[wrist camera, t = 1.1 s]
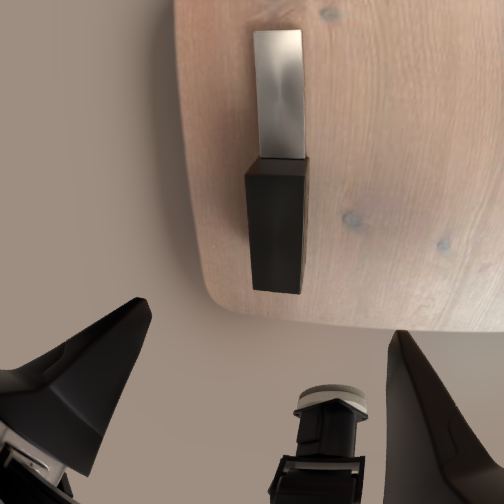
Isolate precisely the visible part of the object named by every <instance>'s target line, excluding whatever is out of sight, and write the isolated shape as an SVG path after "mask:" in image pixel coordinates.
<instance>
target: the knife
mask: <svg viewBox="0 0 504 504" xmlns="http://www.w3.org/2000/svg"><path fill="white" fill-rule="evenodd" d="M253 43H254V59H255V75H256V92H257V109H258V127H259V146H260V156H258V158H257V159H256V160H255V161H254V163H253V164H252V165H251V167H250V168H249V169H248V171H247V172H246V173H245V188H246V202H247V216H248V229H249V243H250V257H251V270H252V284H253V290H260V291H269V292H279V293H289V294H299V295H300V294H301V289H302V283H303V276H304V269H305V262H306V244H307V223H308V196H309V158H308V157H306V116H305V74H304V50H303V32H302V30H301V29H287V30H263V31H253Z"/></svg>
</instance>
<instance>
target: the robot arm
mask: <svg viewBox="0 0 504 504" xmlns="http://www.w3.org/2000/svg"><path fill="white" fill-rule="evenodd" d="M151 319H152V313H151V310H150V308H149V305H148V303H147V300H146V299H144V298H139V297H136V298H134V299H132V300H130V301H129V302H127V303H126V304H124V305H122V306H121V307H119V308H117V309H116V310H114V311H113V312H111V313H109V314H108V315H106V316H105V317H103V318H101V319H100V320H98V321H97V322H95V323H94V324H92V325H90V326H89V327H87V328H85V329H84V330H82V331H81V332H79V333H78V334H76V335H74V336H73V337H71V338H70V339H68V340H67V341H66V342H63V343H62V344H60V345H59V346H57V347H55V348H54V349H52V350H51V351H49V352H47V353H46V354H44V355H42V356H40V357H38V358H36V359H34V360H33V361H31V362H29V363H27V364H25V365H23V366H21V367H19V368H17V369H13V370H0V504H79V503H78V502H76V501H75V500H73V499H72V498H73V494H72V491H71V487H70V484H69V481H68V478H67V474H66V473H65V470H66V468H67V467H69V468H71V469H73V470H75V471H77V472H78V473H80V474H82V475H84V476H86V477H88V476H89V474H90V472H91V469H92V466H93V464H94V461H95V458H96V455H97V453H98V450H99V448H100V445H101V443H102V440H103V436H104V435H105V432H106V430H107V427H108V425H109V422H110V420H111V418H112V415H113V413H114V410H115V408H116V406H117V403H118V401H119V399H120V396H121V394H122V392H123V389H124V387H125V384H126V382H127V380H128V378H129V376H130V373H131V371H132V369H133V367H134V365H135V362H136V360H137V358H138V356H139V353H140V351H141V348H142V345H143V342H144V339H145V337H146V334H147V331H148V328H149V325H150V322H151ZM386 407H387V450H386V474H385V489H384V499H383V504H504V468H502V467H501V466H499V465H498V464H497V463H495V461H494V460H493V459H492V458H491V457H490V455H489V454H488V452H487V451H486V449H485V448H484V446H483V445H482V444H481V442H480V441H479V439H478V438H477V437H476V435H475V434H474V432H473V431H472V429H471V428H470V426H469V425H468V423H467V422H466V420H465V419H464V417H463V415H462V414H461V412H460V410H459V409H458V407H457V406H456V404H455V402H454V400H453V399H452V397H451V396H450V394H449V392H448V391H447V389H446V388H445V386H444V384H443V383H442V381H441V380H440V378H439V376H438V375H437V373H436V372H435V371H434V369H433V367H432V366H431V364H430V363H429V361H428V360H427V358H426V357H425V355H424V354H423V352H422V351H421V349H420V348H419V346H418V345H417V343H416V342H415V341H414V339H413V338H412V336H411V335H410V333H409V332H408V331H407V330H396V331H395V333H394V335H393V337H392V340H391V342H390V344H389V348H388V364H387V382H386ZM293 415H294V416H296V417H298V418H300V424H299V429H298V435H297V441H296V442H297V443H298V445H297V451H296V456H289V455H283V458H281V459H280V463H279V466H278V469H277V471H276V474H275V477H274V479H273V481H272V483H271V485H270V487H269V489H268V494H269V495H270V504H360V503H361V496H362V488H363V479H364V467H365V456H360V457H354V454H355V453H354V452H355V442H356V429H357V423H358V422H361V421H365V420H367V419H368V415H367V414H365V413H364V412H362V411H360V410H358V409H357V408H355V407H353V406H352V405H350V404H348V403H347V402H345V401H343V400H342V399H340V398H334V399H331V400H328V401H325V402H322V403H318V404H315V405H312V406H308V407H305V408H301V409H298V410H295V411H294V413H293ZM352 471H358V473H357V474H356V473H355V474H351V473H352Z"/></svg>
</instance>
